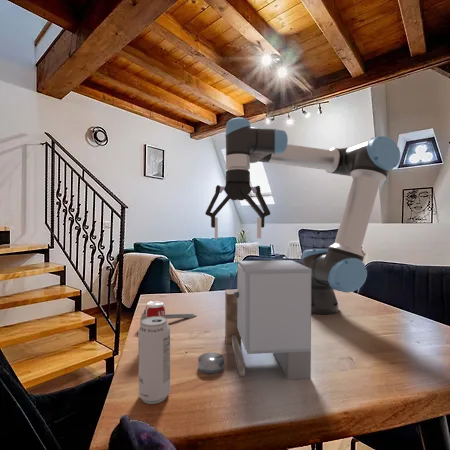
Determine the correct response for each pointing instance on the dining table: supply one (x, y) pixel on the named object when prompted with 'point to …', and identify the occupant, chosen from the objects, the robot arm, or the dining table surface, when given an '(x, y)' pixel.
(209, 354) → the disc
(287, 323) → the cabinet
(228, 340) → the wooden mallet
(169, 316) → the caliper
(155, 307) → the soda can
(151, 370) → the energy drink can
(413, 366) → the dining table surface
